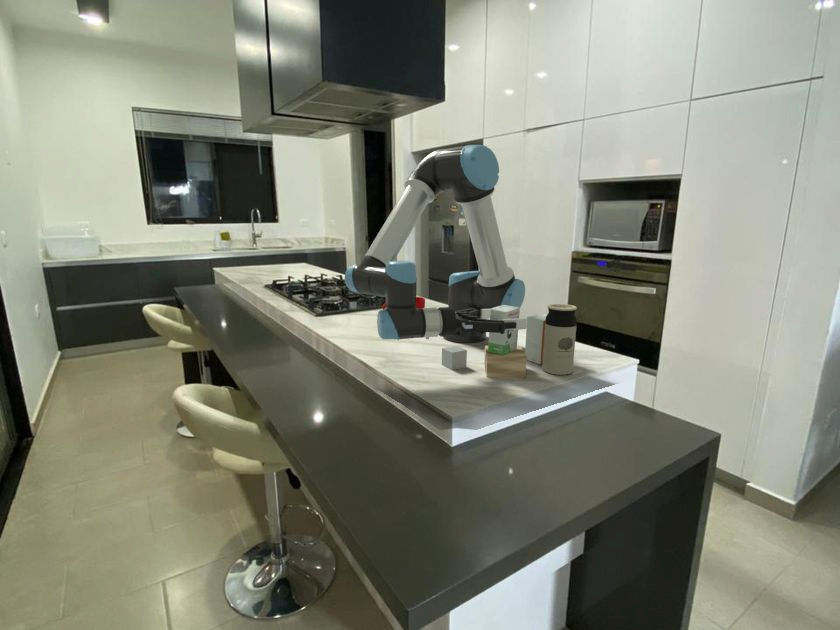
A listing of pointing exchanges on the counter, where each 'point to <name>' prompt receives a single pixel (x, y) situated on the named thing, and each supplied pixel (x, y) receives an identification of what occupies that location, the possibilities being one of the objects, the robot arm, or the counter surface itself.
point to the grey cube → (454, 357)
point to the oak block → (505, 364)
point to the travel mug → (559, 339)
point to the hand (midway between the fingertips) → (513, 318)
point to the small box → (535, 338)
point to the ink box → (509, 338)
